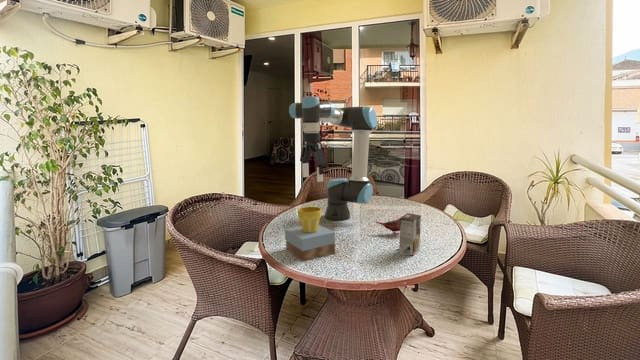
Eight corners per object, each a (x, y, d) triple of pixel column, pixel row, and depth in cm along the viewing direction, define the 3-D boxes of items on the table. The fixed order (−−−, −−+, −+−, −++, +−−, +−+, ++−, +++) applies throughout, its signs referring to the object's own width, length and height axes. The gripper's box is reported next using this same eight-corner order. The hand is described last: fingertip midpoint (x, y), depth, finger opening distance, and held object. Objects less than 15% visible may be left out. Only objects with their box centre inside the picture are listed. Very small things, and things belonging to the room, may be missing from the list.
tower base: (317, 243, 164) (317, 233, 163) (335, 254, 151) (334, 243, 150) (286, 250, 156) (286, 239, 156) (302, 262, 143) (302, 250, 142)
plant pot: (297, 227, 157) (297, 206, 155) (320, 226, 157) (320, 205, 156) (298, 234, 147) (297, 212, 145) (322, 234, 147) (322, 211, 146)
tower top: (315, 233, 163) (315, 223, 163) (334, 243, 150) (334, 232, 149) (285, 239, 155) (284, 229, 154) (302, 251, 142) (302, 239, 141)
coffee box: (406, 247, 157) (407, 212, 155) (420, 249, 154) (421, 214, 151) (398, 253, 150) (399, 217, 147) (412, 256, 146) (414, 219, 144)
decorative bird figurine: (410, 235, 172) (411, 216, 171) (374, 234, 175) (374, 215, 174) (409, 233, 175) (410, 214, 173) (374, 232, 178) (374, 213, 176)
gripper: (291, 131, 162) (293, 176, 166) (318, 134, 141) (319, 184, 145) (306, 130, 166) (307, 174, 170) (333, 133, 145) (334, 182, 149)
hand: (312, 179), depth 158 cm, fingers open, 13 cm apart
